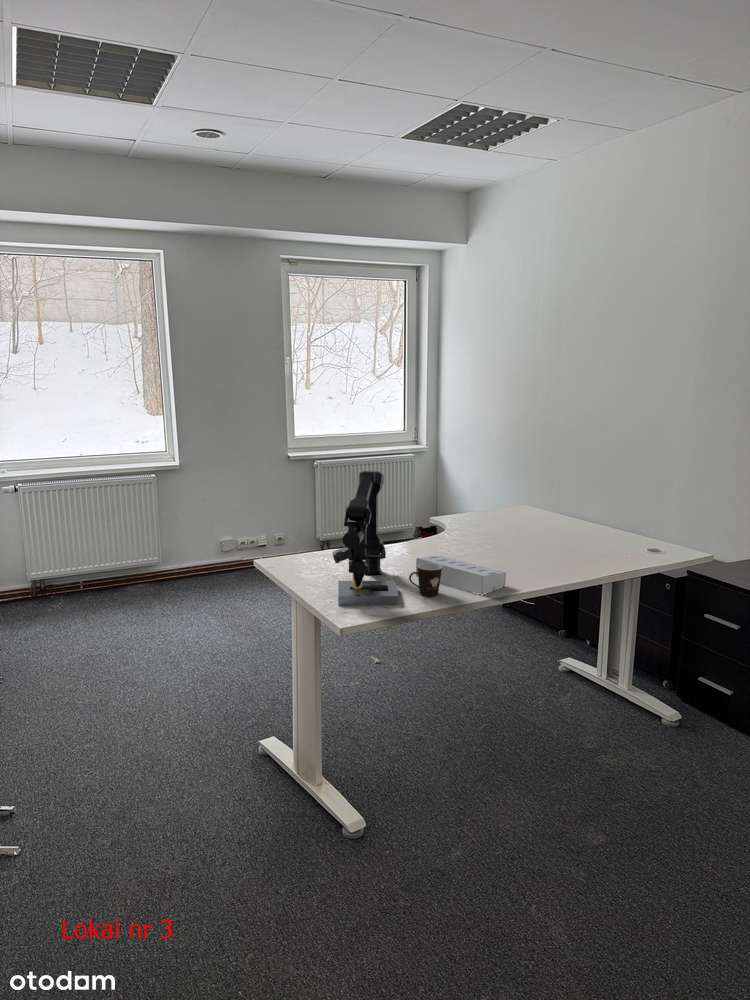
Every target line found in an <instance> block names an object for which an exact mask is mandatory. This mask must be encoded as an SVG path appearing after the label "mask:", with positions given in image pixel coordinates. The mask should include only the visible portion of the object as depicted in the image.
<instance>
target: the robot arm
mask: <svg viewBox="0 0 750 1000" xmlns="http://www.w3.org/2000/svg"><path fill="white" fill-rule="evenodd" d="M384 483H385V475H384V474H383V473H382V472H381V471H376V470H375V471H373V470H363V471H361V472H359V473H358V486H357V490H356V493H355V497H354V498H353V499H351V500H350V502H349V504H348V506H346V509H345V516H344V521H343V527H348V529H347V531H346V533H345V534H343V537H342V543H343V545H344V547H342V548H339V549H336V550H334V551H332V558H333V560H334V562H335V564H339V563H340V562H343V561H345V560H348V573H349V574H352V575H353V574H354V579H355V584H356V587H359V586H360V584H361V581H363V579H364V577H365V576H374V575H375V576H382V574H383V572H382V568H381V560H383V559H386V557H387V556H386V555H387V553H386V547H385V544H384V543H383V537H382V535H381V534H380V532H379V493H380V491H381V490H382V488H383V485H384Z"/></svg>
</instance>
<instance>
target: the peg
mask: <svg viewBox="0 0 750 1000" xmlns="http://www.w3.org/2000/svg"><path fill="white" fill-rule="evenodd" d="M352 581H353V588H355V590H360V588H362V581H363V580H362V581H361V584H360V586H359V587H356V584H355V579H354V574H353V573H352Z"/></svg>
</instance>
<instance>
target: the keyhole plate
mask: <svg viewBox="0 0 750 1000" xmlns="http://www.w3.org/2000/svg"><path fill="white" fill-rule="evenodd" d="M337 587H338V590H337V591H338V592H337V593H338V594H337V595H338V596H337V598H338V599H337V606H399V602H400V601H399V599H400V597H399V596H400V595H399V592H398V588H397V583H396V580H362V588H360V590H355V588H353V580H338V585H337Z"/></svg>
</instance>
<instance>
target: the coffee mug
mask: <svg viewBox="0 0 750 1000" xmlns="http://www.w3.org/2000/svg"><path fill="white" fill-rule="evenodd" d="M417 569H418V572H416V571H412V572H411V573H410V575H409V577H408V580H409V582H410V583H411V584H412V585H414V586H416V587H417V588H418V590H419V595H420V596H422V597H425V598H434V597H437V596H438V595H439V590H440V578H441V572H442V566H441V565H439V564H436V563H421V564H418V565H417ZM416 574H417V575H418V577H417V578H418V584H416V583H415V582H413V581H412V576H413V575H416Z"/></svg>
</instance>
